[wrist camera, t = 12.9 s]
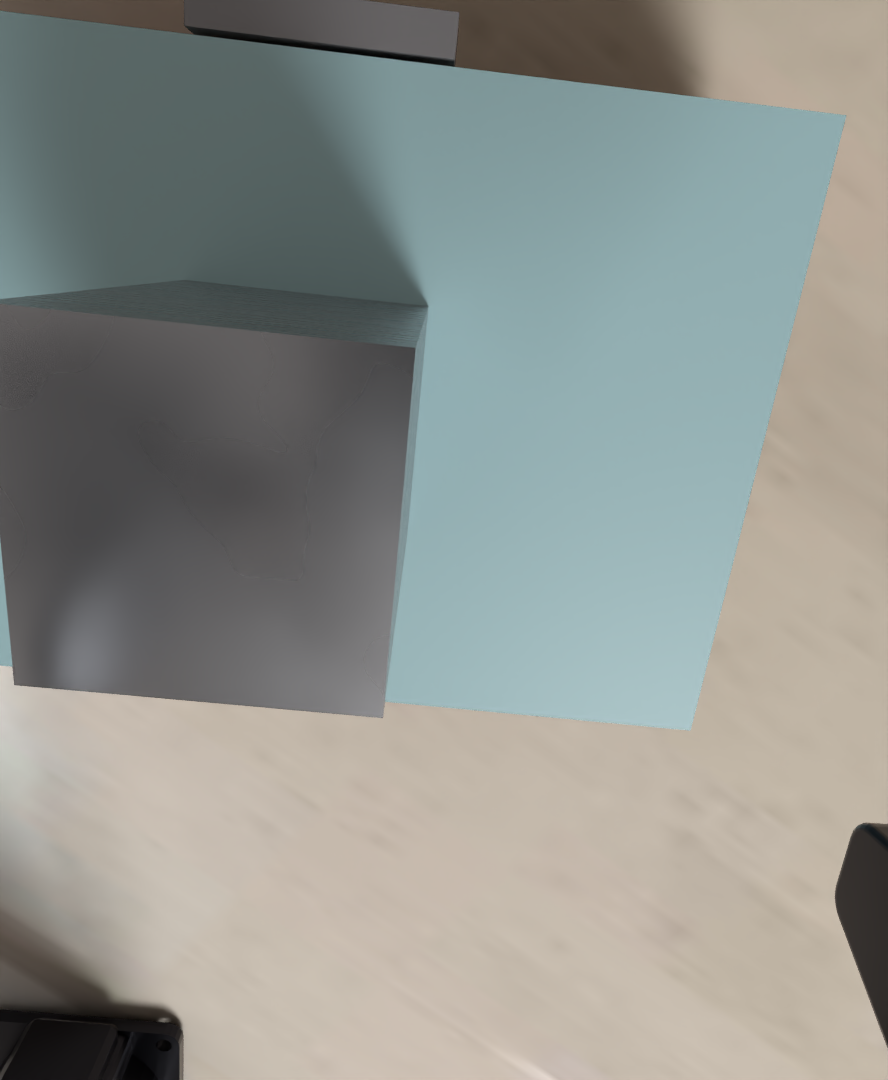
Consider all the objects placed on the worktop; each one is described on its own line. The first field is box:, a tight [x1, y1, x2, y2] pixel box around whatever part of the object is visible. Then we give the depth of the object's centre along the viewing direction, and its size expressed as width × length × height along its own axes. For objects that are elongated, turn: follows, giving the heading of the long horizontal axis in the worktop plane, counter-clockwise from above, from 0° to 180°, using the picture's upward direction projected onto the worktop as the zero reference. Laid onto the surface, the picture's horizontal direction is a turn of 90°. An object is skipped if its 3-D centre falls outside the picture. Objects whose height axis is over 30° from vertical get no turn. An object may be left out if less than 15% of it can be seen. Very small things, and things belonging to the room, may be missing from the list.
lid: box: [0, 0, 846, 730], centre depth 14 cm, size 12×16×1 cm
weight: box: [0, 280, 429, 718], centre depth 11 cm, size 4×4×6 cm
